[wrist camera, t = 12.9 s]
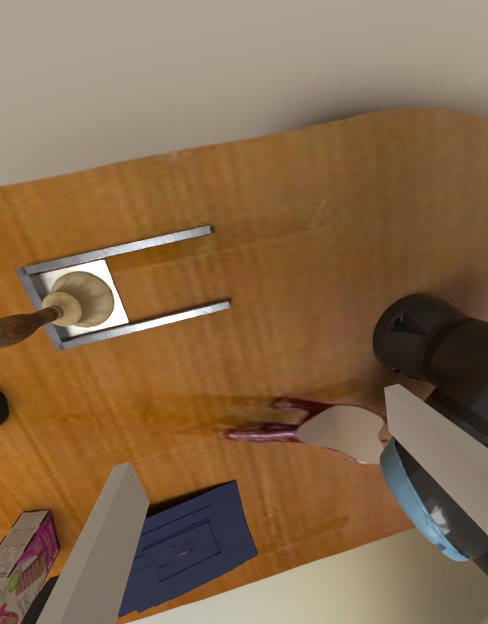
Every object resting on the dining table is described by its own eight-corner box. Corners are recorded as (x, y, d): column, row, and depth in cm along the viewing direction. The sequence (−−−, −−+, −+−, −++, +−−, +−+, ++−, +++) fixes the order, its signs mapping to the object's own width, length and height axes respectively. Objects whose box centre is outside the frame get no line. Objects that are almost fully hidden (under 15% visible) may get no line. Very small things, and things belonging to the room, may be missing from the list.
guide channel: (228, 304, 37) (229, 307, 35) (65, 345, 35) (56, 351, 33) (209, 226, 33) (209, 225, 31) (26, 267, 32) (14, 269, 30)
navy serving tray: (80, 530, 43) (71, 553, 40) (232, 467, 49) (236, 483, 46) (125, 604, 50) (121, 629, 47) (254, 542, 56) (259, 560, 53)
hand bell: (88, 338, 35) (-6, 407, 20) (38, 299, 32) (-114, 343, 17) (126, 301, 34) (60, 343, 19) (78, 258, 32) (-42, 268, 17)
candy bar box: (62, 549, 45) (-16, 707, 30) (34, 553, 45) (-62, 717, 29) (52, 507, 42) (-41, 658, 27) (21, 510, 42) (-93, 668, 26)
